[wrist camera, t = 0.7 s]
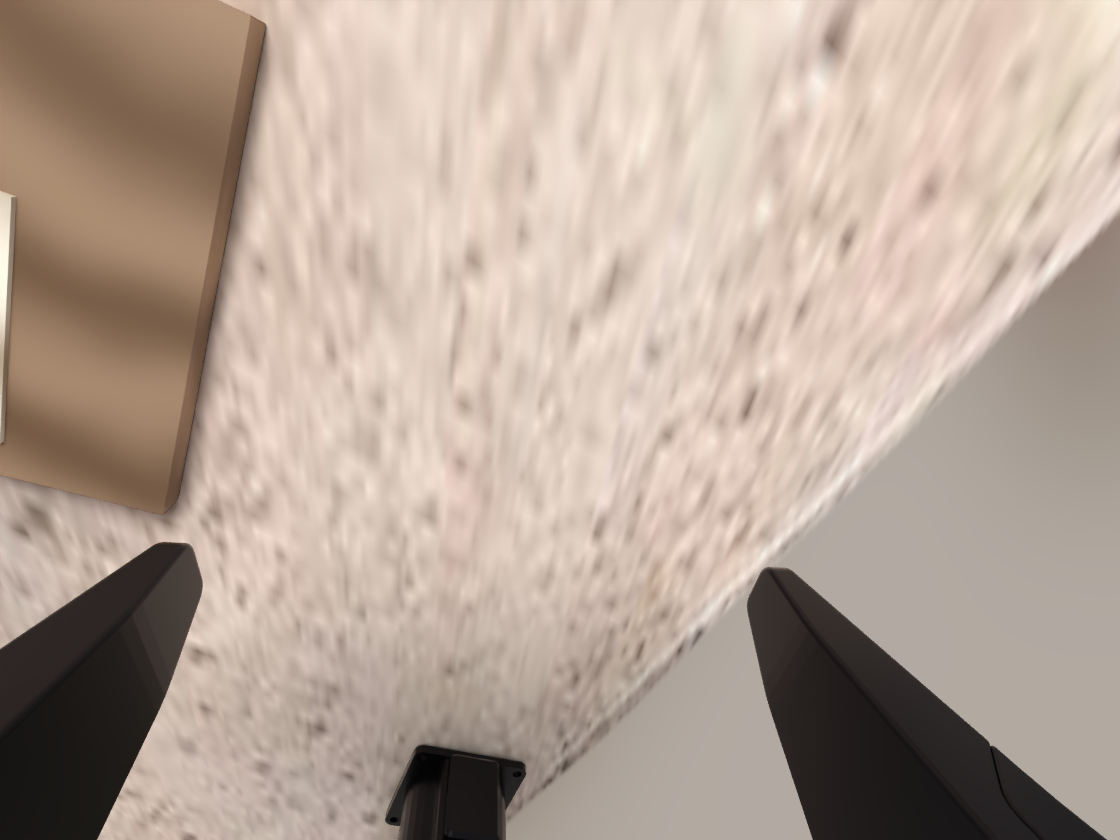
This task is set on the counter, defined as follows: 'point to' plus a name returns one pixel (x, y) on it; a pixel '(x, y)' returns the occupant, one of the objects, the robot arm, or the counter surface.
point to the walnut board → (114, 232)
